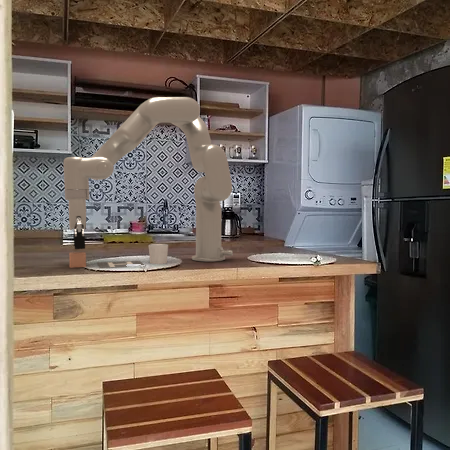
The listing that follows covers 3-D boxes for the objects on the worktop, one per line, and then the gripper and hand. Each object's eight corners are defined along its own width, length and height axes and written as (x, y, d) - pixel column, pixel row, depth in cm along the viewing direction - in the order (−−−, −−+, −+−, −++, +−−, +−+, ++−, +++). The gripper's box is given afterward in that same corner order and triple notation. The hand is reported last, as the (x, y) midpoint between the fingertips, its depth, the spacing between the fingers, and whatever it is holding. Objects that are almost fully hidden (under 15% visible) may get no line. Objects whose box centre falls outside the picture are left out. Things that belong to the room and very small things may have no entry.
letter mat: (139, 262, 162) (139, 260, 162) (146, 268, 149) (146, 266, 149) (96, 264, 157) (96, 262, 157) (99, 270, 144) (99, 268, 144)
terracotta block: (85, 266, 152) (85, 252, 151) (85, 269, 147) (85, 253, 147) (69, 267, 150) (69, 252, 150) (69, 269, 145) (69, 254, 145)
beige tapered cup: (164, 266, 153) (164, 245, 153) (145, 265, 155) (145, 245, 154) (170, 263, 160) (170, 243, 160) (152, 262, 162) (152, 243, 161)
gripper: (65, 195, 154) (67, 245, 155) (65, 195, 138) (67, 251, 139) (87, 194, 156) (90, 243, 158) (90, 195, 140) (92, 249, 141)
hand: (79, 247), depth 148 cm, fingers open, 9 cm apart
